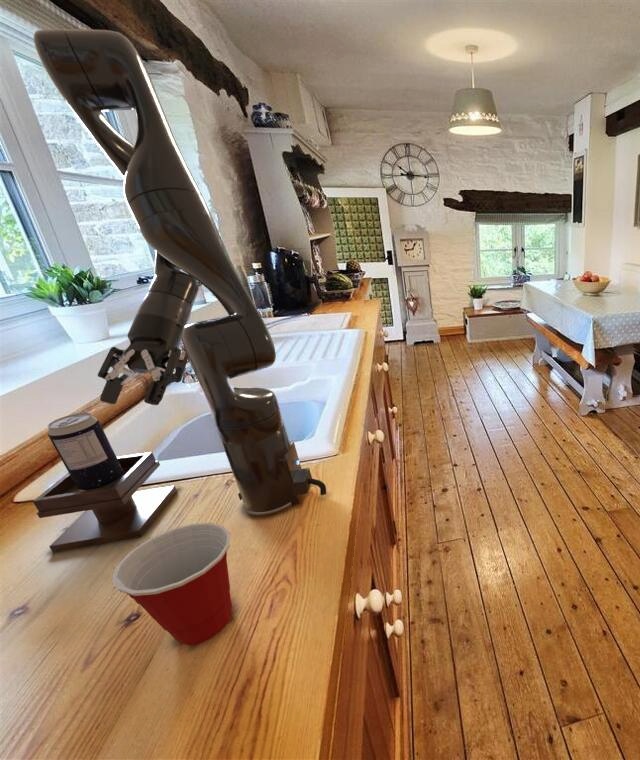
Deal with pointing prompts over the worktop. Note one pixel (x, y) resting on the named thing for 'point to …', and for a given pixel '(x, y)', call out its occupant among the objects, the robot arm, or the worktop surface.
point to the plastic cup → (181, 580)
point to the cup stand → (106, 505)
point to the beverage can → (85, 451)
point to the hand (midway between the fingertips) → (129, 403)
